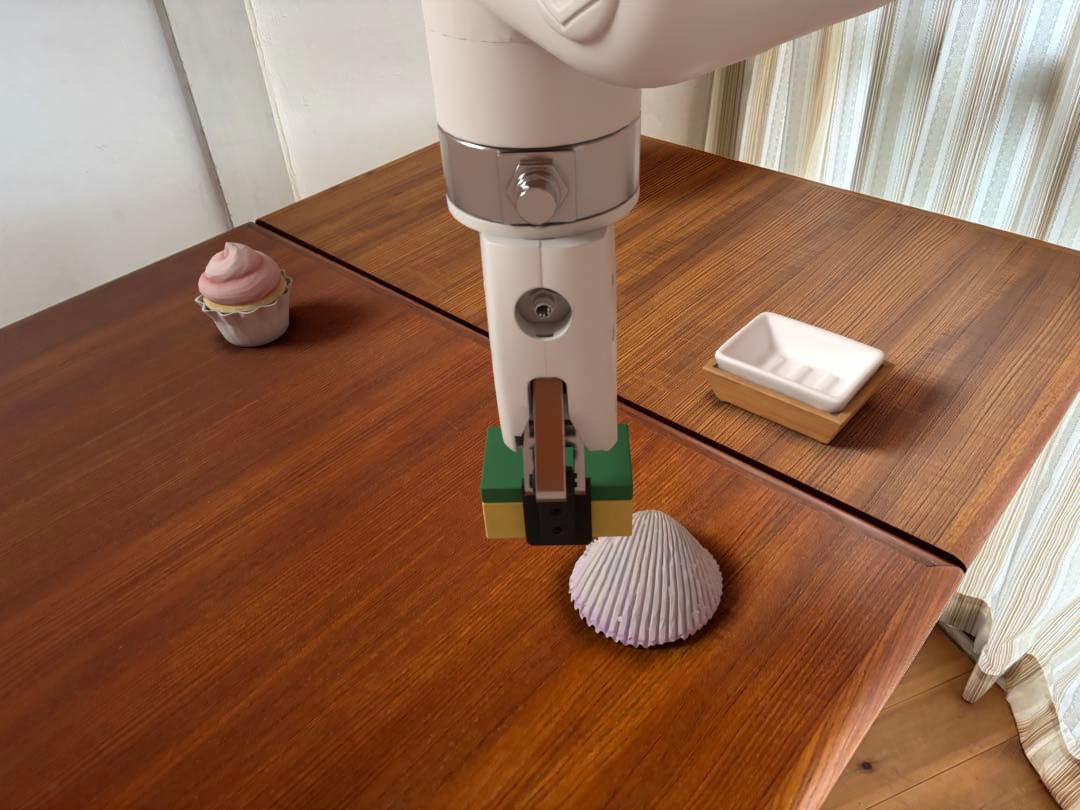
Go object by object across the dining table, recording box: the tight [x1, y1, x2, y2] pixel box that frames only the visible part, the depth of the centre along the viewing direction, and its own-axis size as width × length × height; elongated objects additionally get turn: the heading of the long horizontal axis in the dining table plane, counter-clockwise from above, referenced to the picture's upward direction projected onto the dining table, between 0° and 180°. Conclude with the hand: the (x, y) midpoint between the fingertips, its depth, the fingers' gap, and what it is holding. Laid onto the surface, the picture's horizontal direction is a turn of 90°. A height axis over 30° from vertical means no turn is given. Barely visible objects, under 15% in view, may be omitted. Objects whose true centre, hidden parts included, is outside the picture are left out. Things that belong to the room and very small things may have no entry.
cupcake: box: [194, 241, 293, 348], centre depth 82 cm, size 9×9×10 cm
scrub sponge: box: [479, 423, 634, 540], centre depth 43 cm, size 7×5×4 cm, turn 88°
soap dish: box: [702, 311, 896, 445], centre depth 71 cm, size 12×10×5 cm
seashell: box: [568, 509, 724, 649], centre depth 57 cm, size 10×6×10 cm
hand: (559, 499), depth 43 cm, fingers closed on scrub sponge, 4 cm apart
